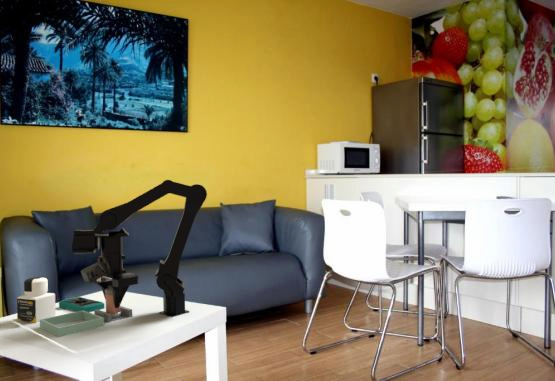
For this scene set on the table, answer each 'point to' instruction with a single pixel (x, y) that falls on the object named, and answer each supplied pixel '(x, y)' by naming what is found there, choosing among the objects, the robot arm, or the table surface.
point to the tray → (91, 323)
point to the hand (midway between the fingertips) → (113, 306)
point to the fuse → (111, 304)
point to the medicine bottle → (35, 301)
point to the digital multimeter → (81, 304)
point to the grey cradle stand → (108, 318)
